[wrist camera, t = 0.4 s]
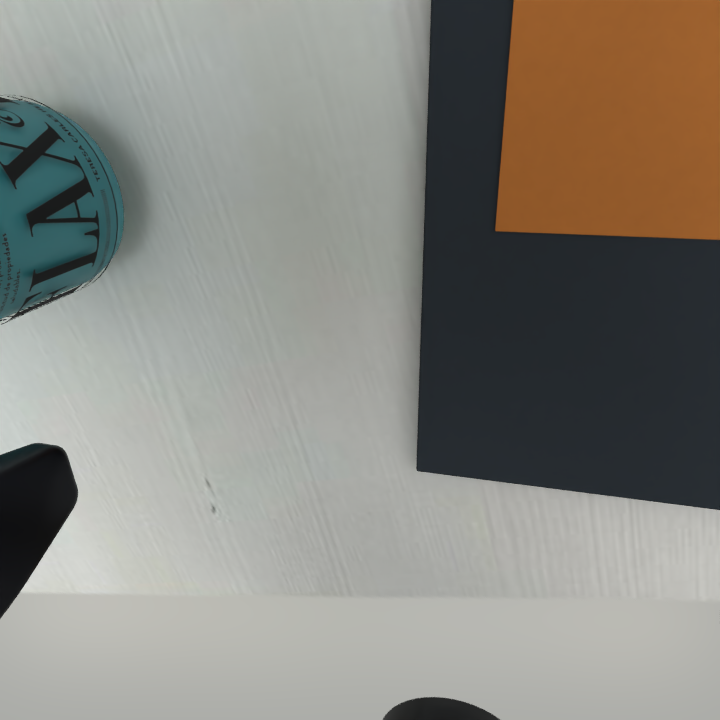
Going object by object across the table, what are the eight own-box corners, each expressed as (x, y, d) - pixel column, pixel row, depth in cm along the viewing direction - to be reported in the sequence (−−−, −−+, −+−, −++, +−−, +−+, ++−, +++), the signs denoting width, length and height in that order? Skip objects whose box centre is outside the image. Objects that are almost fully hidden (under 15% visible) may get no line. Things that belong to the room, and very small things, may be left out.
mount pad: (766, 506, 21) (773, 519, 20) (418, 462, 23) (415, 473, 23) (964, -93, 14) (984, -101, 13) (435, -57, 16) (432, -63, 16)
